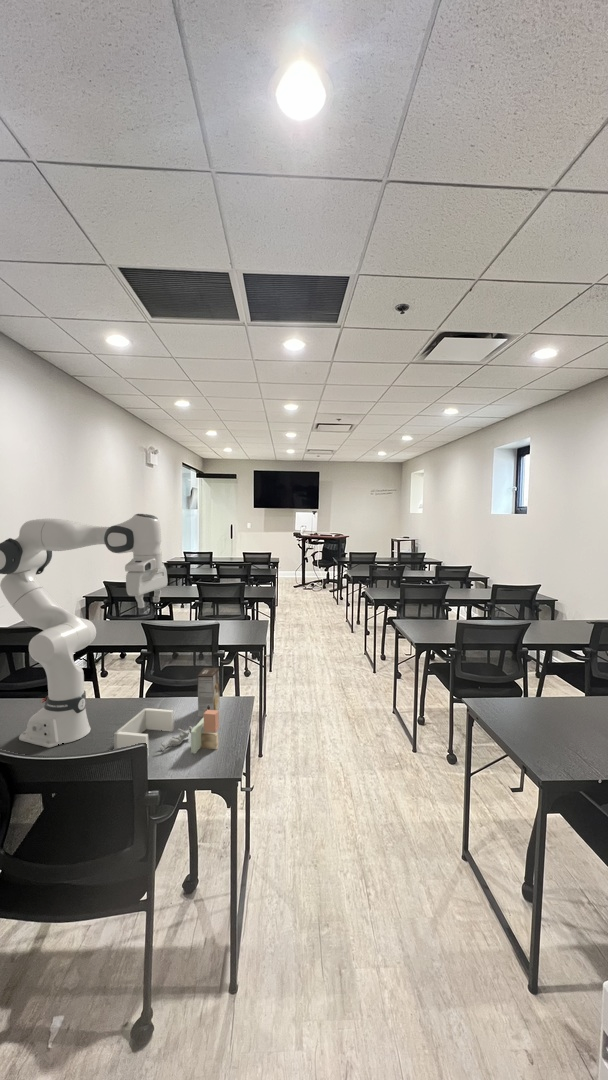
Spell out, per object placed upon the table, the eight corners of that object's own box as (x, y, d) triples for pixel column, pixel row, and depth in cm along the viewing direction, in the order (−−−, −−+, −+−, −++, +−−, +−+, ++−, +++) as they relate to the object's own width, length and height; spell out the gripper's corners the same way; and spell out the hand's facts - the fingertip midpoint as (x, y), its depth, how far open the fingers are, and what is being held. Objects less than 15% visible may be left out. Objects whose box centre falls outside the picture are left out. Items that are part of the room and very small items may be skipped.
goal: (114, 754, 143) (113, 733, 143) (145, 726, 162) (145, 708, 162) (146, 758, 142) (145, 736, 141) (173, 729, 160) (173, 710, 160)
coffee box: (204, 706, 179) (203, 667, 178) (220, 707, 179) (219, 667, 178) (197, 717, 170) (197, 675, 169) (214, 717, 169) (213, 675, 169)
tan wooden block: (193, 747, 148) (193, 733, 148) (195, 744, 150) (195, 731, 149) (216, 749, 147) (216, 735, 146) (218, 746, 148) (218, 733, 148)
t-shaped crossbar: (191, 753, 143) (190, 719, 142) (205, 734, 154) (205, 703, 154) (210, 754, 141) (209, 720, 141) (223, 736, 153) (223, 704, 153)
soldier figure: (155, 750, 148) (181, 725, 158) (165, 761, 147) (191, 735, 157) (162, 741, 143) (188, 716, 153) (172, 752, 143) (198, 726, 152)
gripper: (154, 559, 159) (156, 598, 159) (121, 566, 138) (123, 611, 139) (171, 559, 157) (172, 599, 158) (140, 566, 137) (141, 611, 138)
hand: (149, 604), depth 149 cm, fingers open, 8 cm apart
